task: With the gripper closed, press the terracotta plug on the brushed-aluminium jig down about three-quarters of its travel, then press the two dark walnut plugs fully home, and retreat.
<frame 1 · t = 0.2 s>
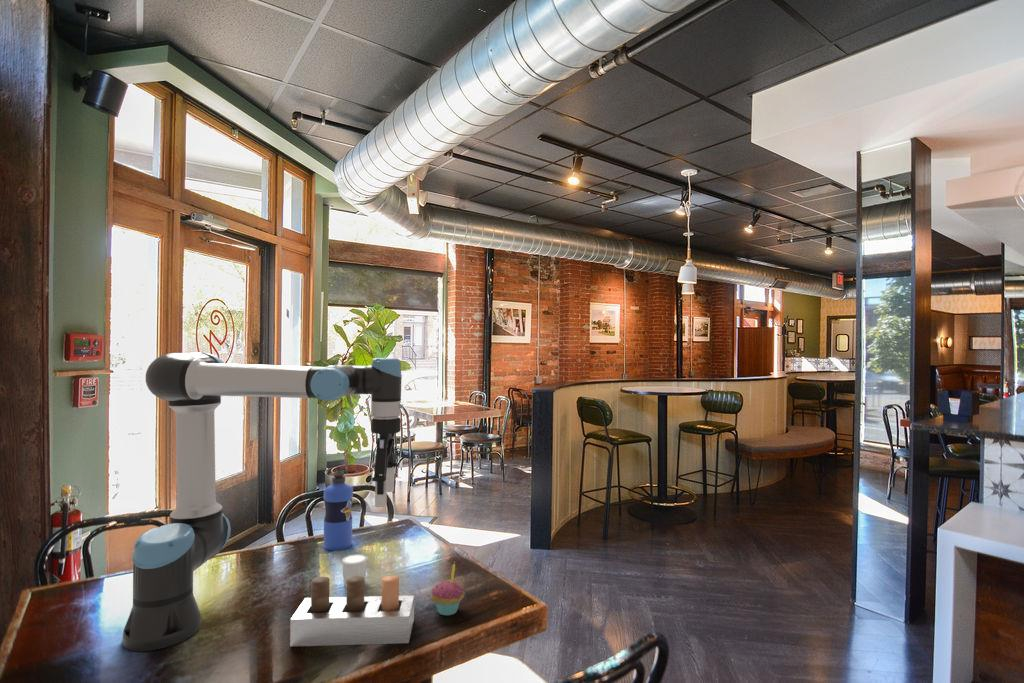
hand: (384, 499, 138), 27 cm above the table, fingers open, 13 cm apart
cupcake: (447, 612, 133), on the table
plug near: (320, 595, 123), point 9 cm above the table, slide at 0.0 cm
jig: (354, 632, 123), on the table
white cup: (354, 584, 149), on the table
plug terracotta: (390, 593, 124), point 9 cm above the table, slide at 0.0 cm
plug mid: (355, 594, 123), point 9 cm above the table, slide at 0.0 cm
water bottle: (337, 546, 177), on the table
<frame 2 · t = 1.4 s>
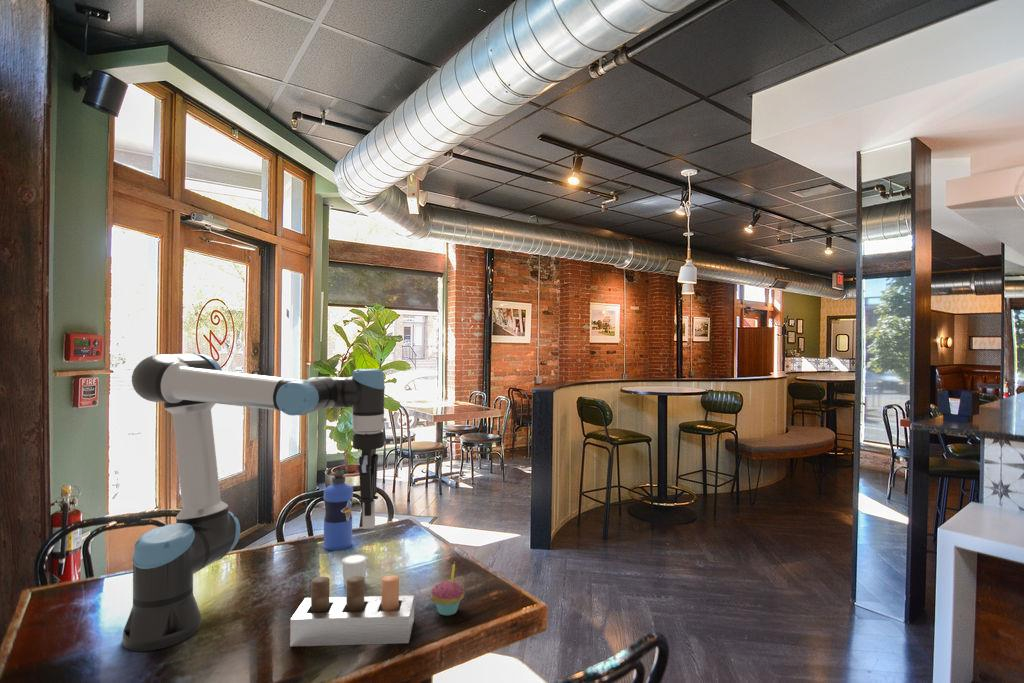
hand: (368, 527, 130), 22 cm above the table, fingers closed
nothing on the table moved.
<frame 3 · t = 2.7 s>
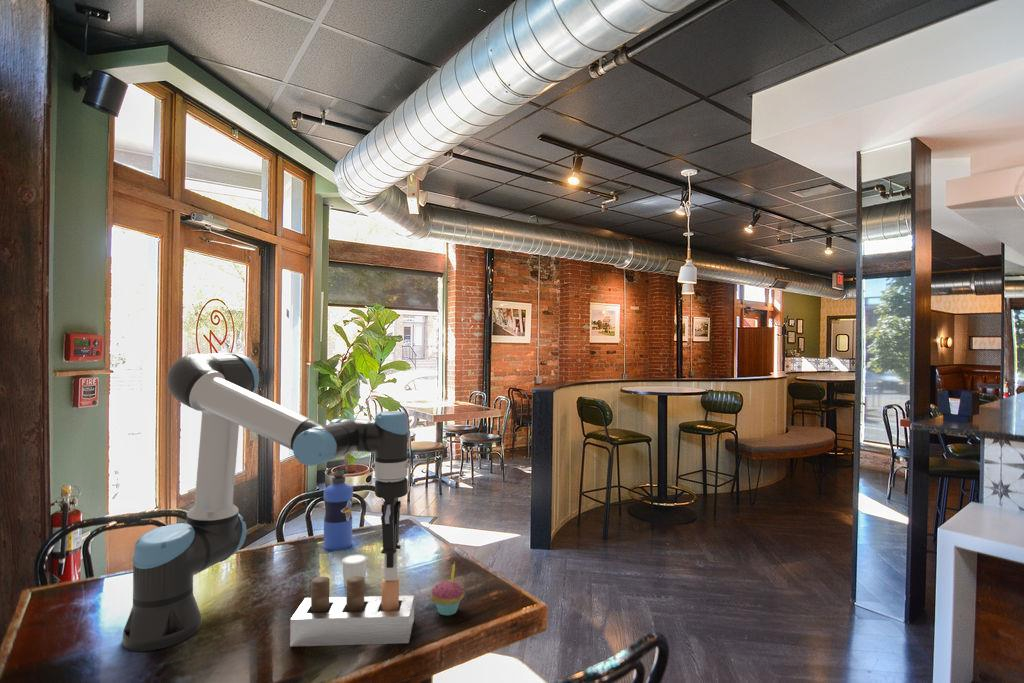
hand: (390, 579, 124), 12 cm above the table, fingers closed
plug terracotta: (390, 595, 124), point 8 cm above the table, slide at 0.3 cm, touching gripper
everything else where it was.
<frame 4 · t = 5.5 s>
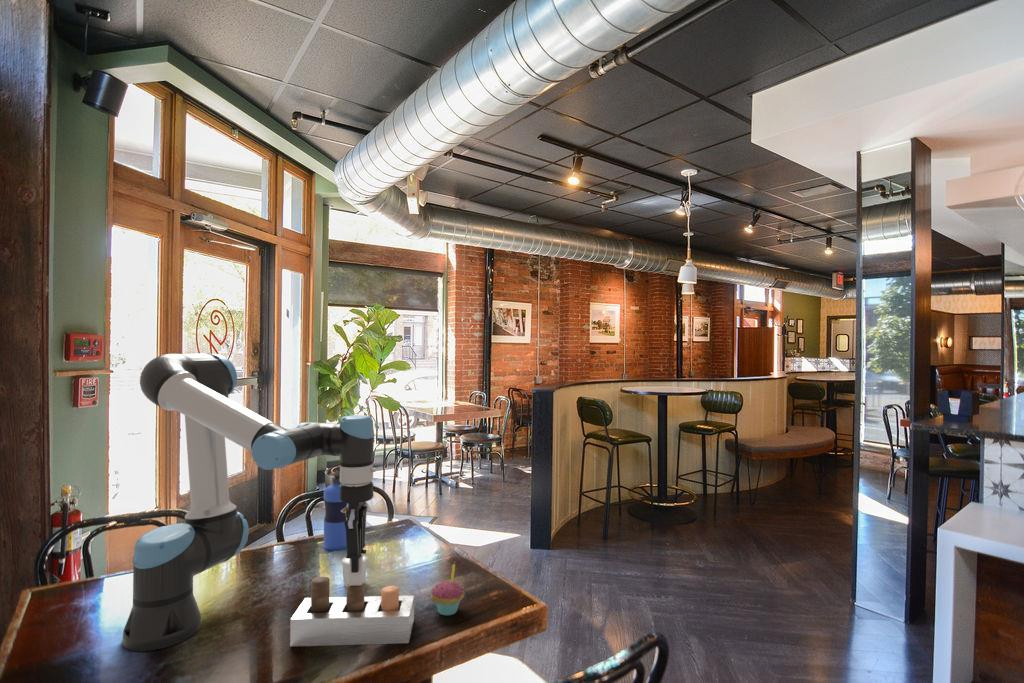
hand: (356, 583, 123), 11 cm above the table, fingers closed
plug terracotta: (390, 604, 124), point 6 cm above the table, slide at 2.5 cm
plug mid: (355, 600, 123), point 8 cm above the table, slide at 1.3 cm, touching gripper
everything else where it was.
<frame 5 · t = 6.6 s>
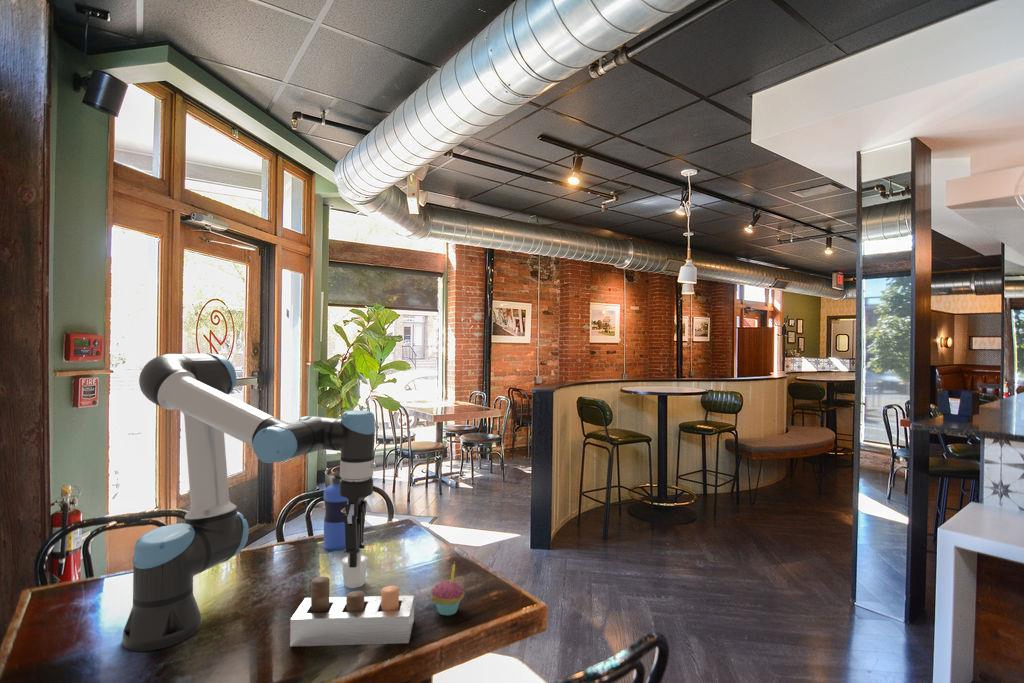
hand: (353, 578, 123), 12 cm above the table, fingers closed
plug mid: (355, 609, 123), point 5 cm above the table, slide at 3.5 cm
everything else where it was.
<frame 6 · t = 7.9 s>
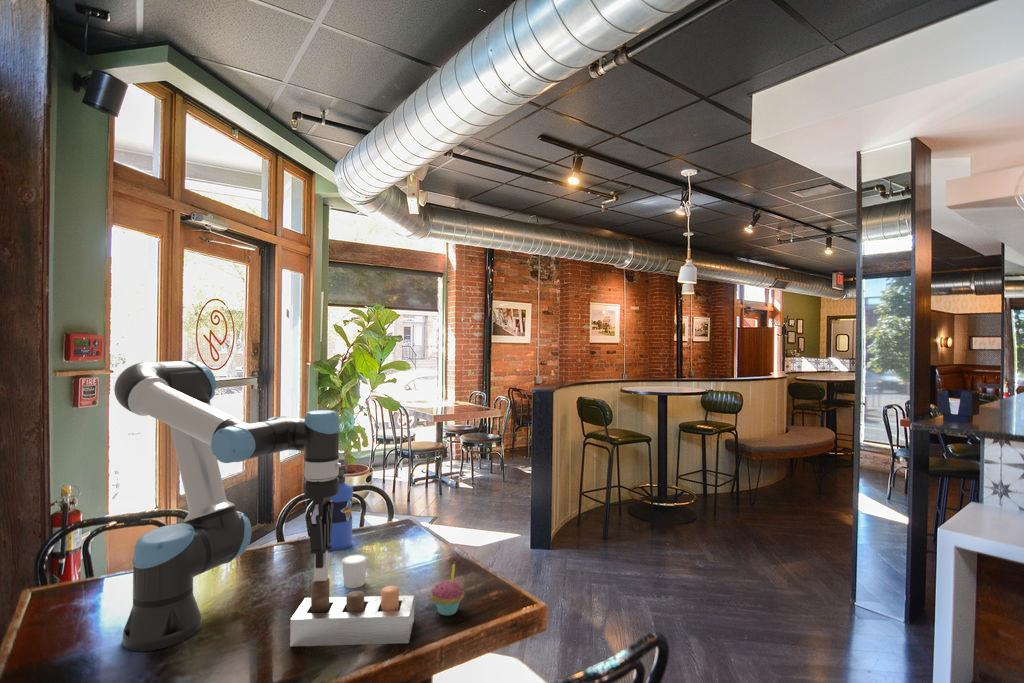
hand: (320, 579, 123), 12 cm above the table, fingers closed
plug near: (320, 595, 123), point 9 cm above the table, slide at 0.1 cm, touching gripper
everything else where it was.
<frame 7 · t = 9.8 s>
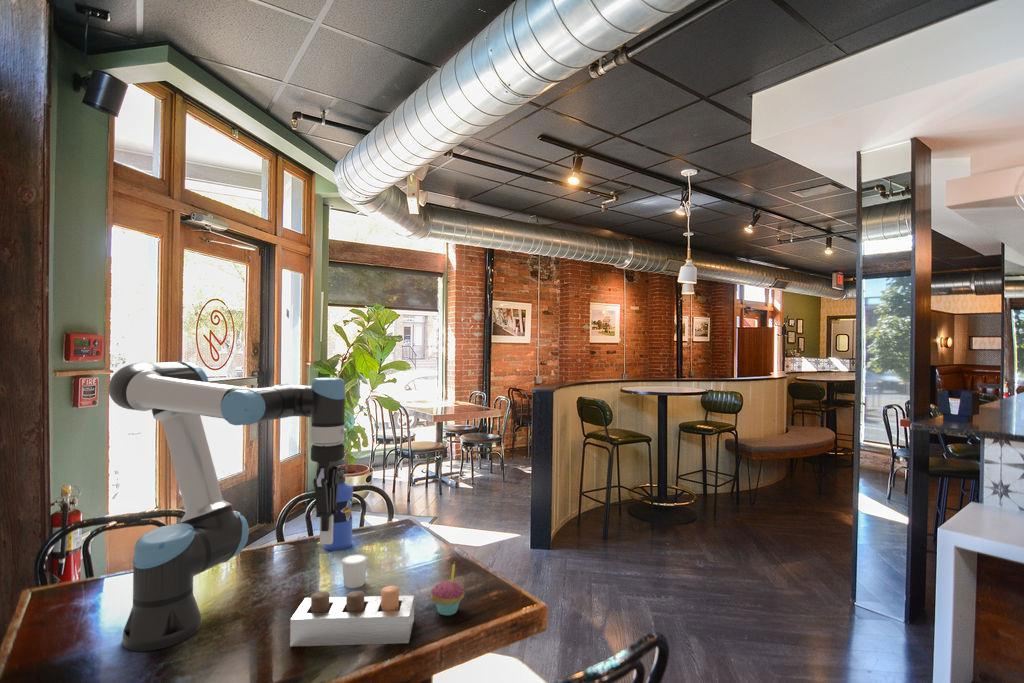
hand: (326, 543, 125), 20 cm above the table, fingers closed
plug near: (320, 610, 122), point 5 cm above the table, slide at 3.5 cm
everything else where it was.
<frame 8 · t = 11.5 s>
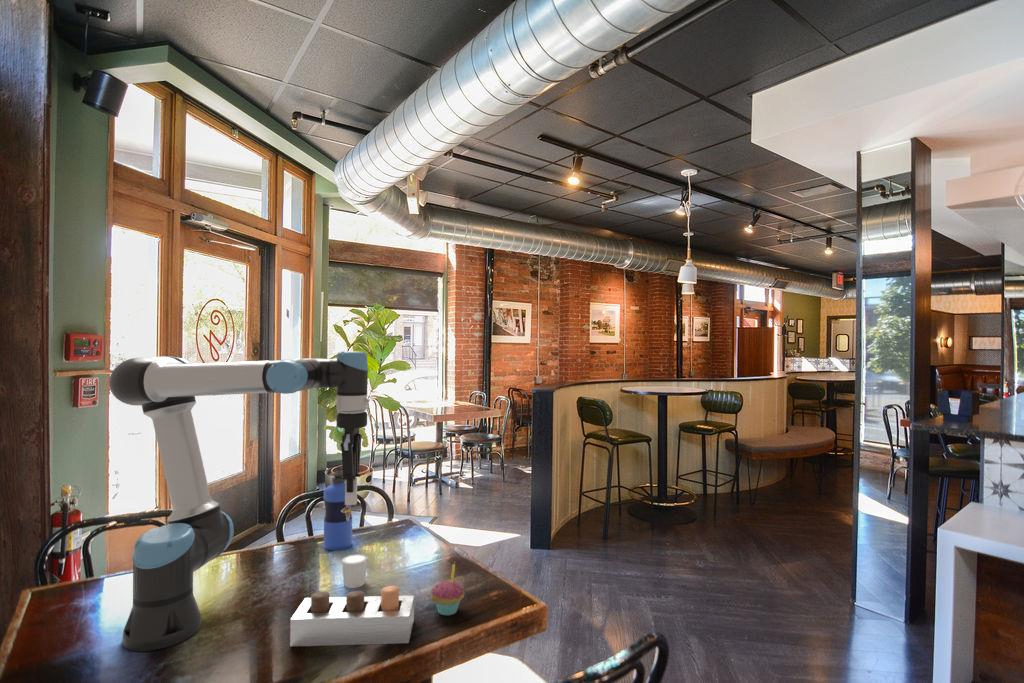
hand: (351, 503, 135), 26 cm above the table, fingers closed
nothing on the table moved.
at the end: plug terracotta slide at 2.5 cm; plug mid slide at 3.5 cm; plug near slide at 3.5 cm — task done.
